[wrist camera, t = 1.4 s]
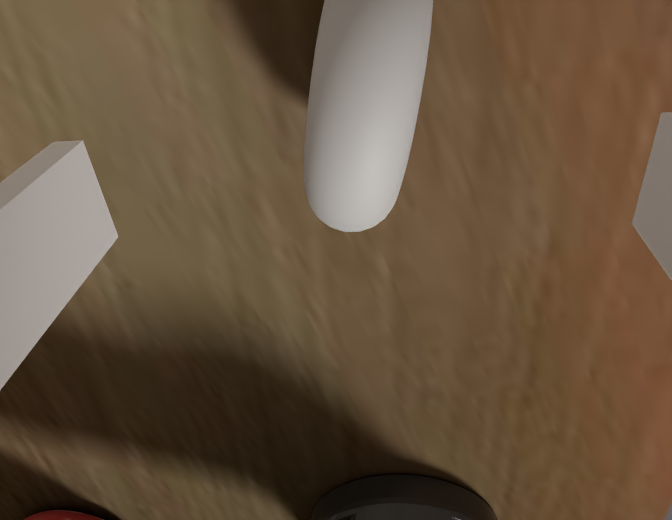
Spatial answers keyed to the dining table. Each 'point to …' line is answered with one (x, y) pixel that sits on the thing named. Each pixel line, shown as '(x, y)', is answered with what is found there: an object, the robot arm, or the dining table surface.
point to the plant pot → (62, 515)
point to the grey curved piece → (363, 107)
